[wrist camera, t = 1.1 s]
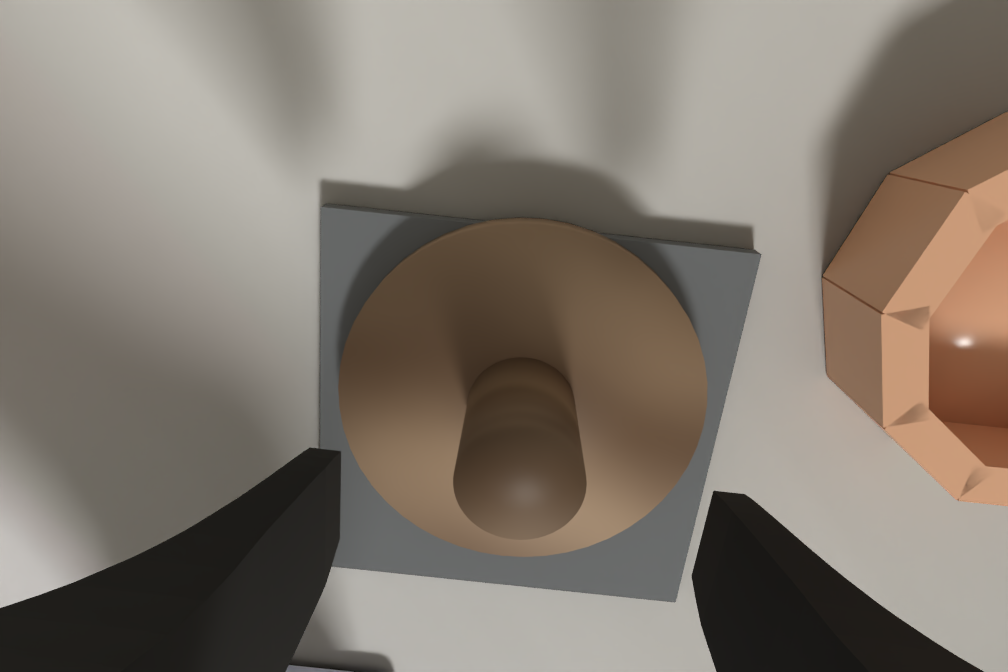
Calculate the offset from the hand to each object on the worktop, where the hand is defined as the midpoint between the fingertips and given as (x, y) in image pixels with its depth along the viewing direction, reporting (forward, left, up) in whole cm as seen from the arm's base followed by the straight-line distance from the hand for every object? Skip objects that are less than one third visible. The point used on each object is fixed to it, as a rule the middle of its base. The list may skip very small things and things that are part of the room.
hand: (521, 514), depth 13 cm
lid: (0, 0, -6) cm, 6 cm away
